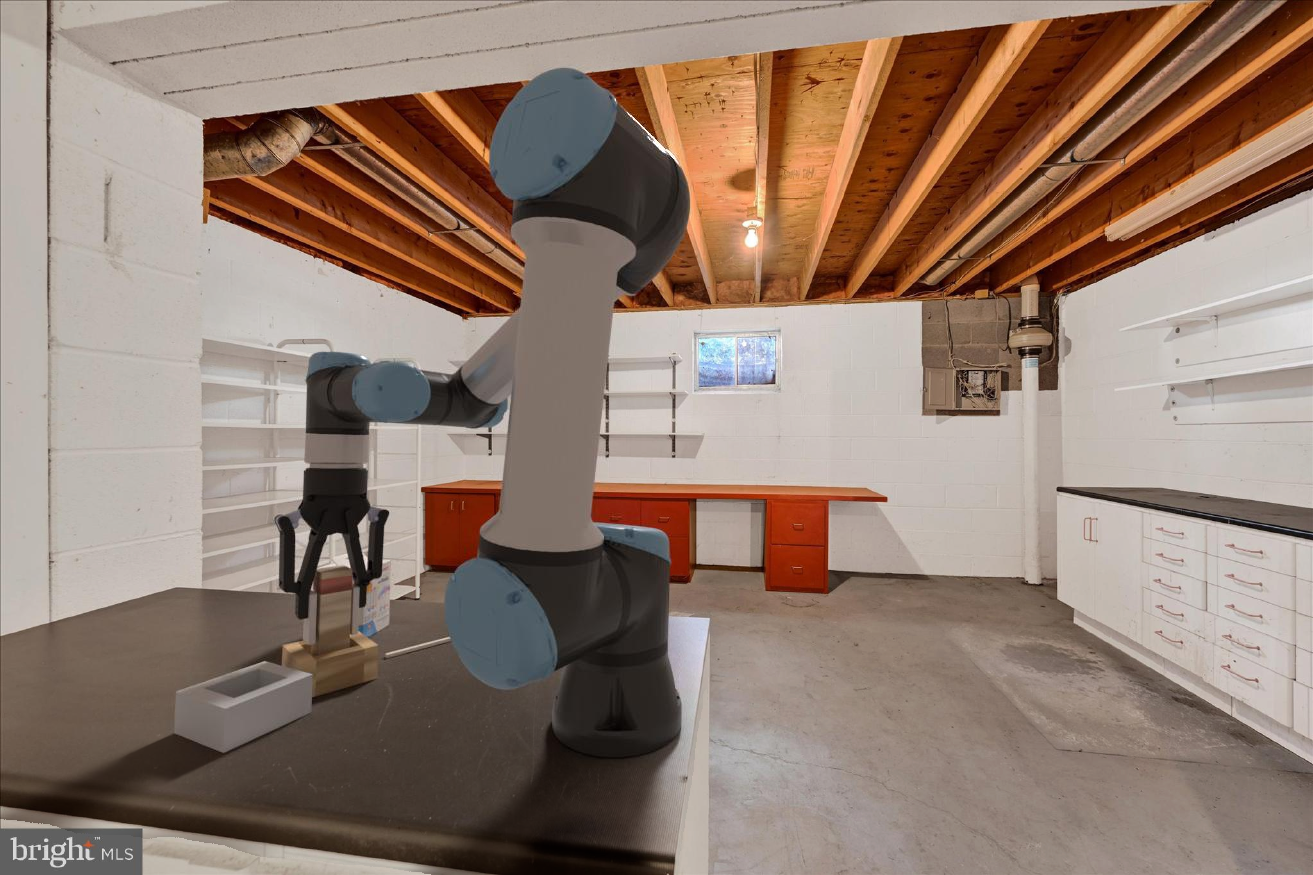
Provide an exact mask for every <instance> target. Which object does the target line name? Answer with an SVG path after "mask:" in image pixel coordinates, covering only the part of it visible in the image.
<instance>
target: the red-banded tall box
mask: <svg viewBox="0 0 1313 875" xmlns="http://www.w3.org/2000/svg"><path fill="white" fill-rule="evenodd" d="M317 568H318V569H317V570H316V573H315V577H314V580H313V584H312V591H313V592H315V593H316V594H317V608H316V636H315V644H312V645H311V656H312V657H314V656H318V655H322V654H326V653H330V652H335V651H339V650H343V649H347V648H350V620H351V592H352V578H353V575H352V569H351V568H349V567H347V566H345V565H340V566H333V567H326V568H320V567H317Z"/></svg>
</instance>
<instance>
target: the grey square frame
mask: <svg viewBox="0 0 1313 875" xmlns="http://www.w3.org/2000/svg"><path fill="white" fill-rule="evenodd" d="M312 678H313V674H310V673H306V672H302V671H299V670H295V669H292V668H288V667H284V666H282V664H281V665H280V664H277V663H274V662H270V661H265V660H264V661H261V662H259V663H258V662H257V663H256V664H255V663H254V664H252V665H250V666H247V667H244V668H240V669H238V670H235V671H233V672H229V673H227V674H224V675H220V676H218V677H215V678H212V679H208V680H206V681H203V682H200V683H196V684H194V685H191V686H188V687H186V688H185V687H184V688H182V689H179V690H176V691H175V703H174V704H175V705H174V727H173V728H174V730H173V733H174V734H175V735H178V736H180V737H183V738H185V739H187V740H189V741H190V740H191V741H193V742H196V743H197V744H200V745H202V746H205V747H207V748H210V749H213V750H216V751H217V752H220V753H222V754H224V753H227V752H229V751H231V750H233V749H235V748H238V747H240V746H242V745H244V744H247V743H249V742H250V741H253V740H255V739H257V738H259V737H262V736H264V735H265V734H268V733H270V732H272V731H274V730H277V729H279V728H281V727H283V726H285V725H288V724H290V723H292V722H294V721H296V720H298V719H300V718H302V717H305V716H307V715H308V714H309V715H310V714H311V713H312V700H313V699H312V698H313V697H312Z"/></svg>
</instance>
